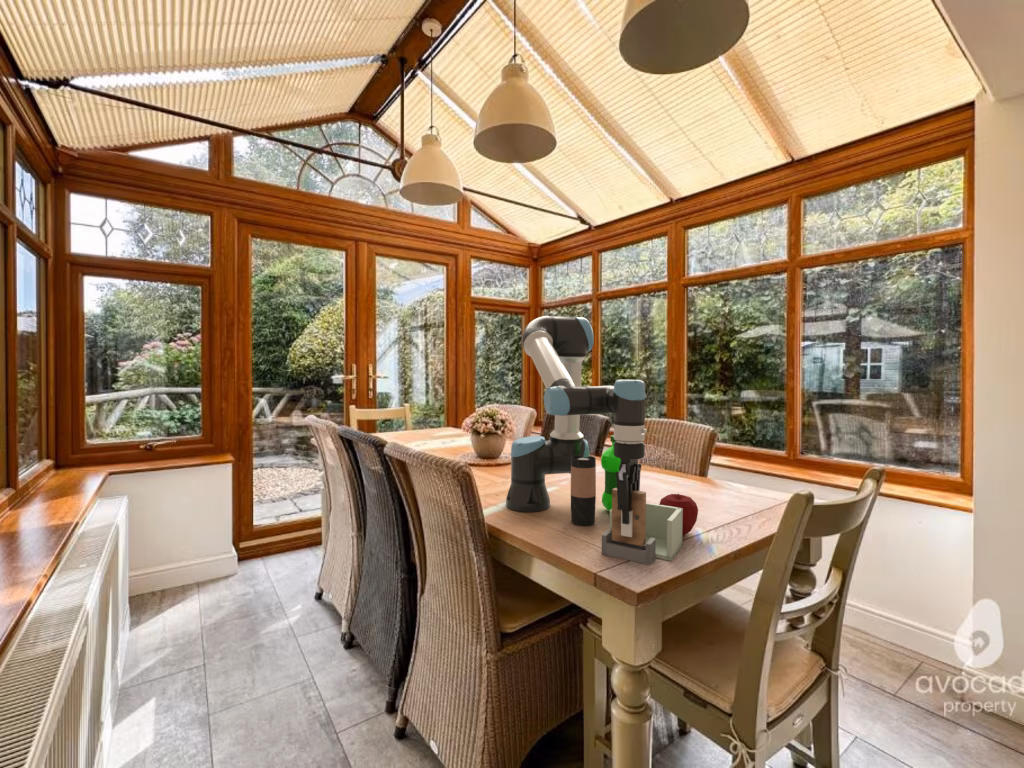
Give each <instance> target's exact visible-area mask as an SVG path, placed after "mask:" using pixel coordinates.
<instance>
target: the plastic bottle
mask: <svg viewBox="0 0 1024 768" xmlns="http://www.w3.org/2000/svg"><path fill="white" fill-rule="evenodd" d="M615 441H616V440H615V439H614V434H612V435H610V442H611V446H610V447H608V449H605V451H604V452H603V453H602V455H601V458H600V464H601V468H602V469H603V470H604V491H603V493H602V495H601V503H602V506H603V507H604V508H605V509H606V510H608V512H609V513H610V510H611V509H612V489H614V488H617V479H616V472H619V465H620V462H621V459H620V458H617V457H615V456H614V443H615Z"/></svg>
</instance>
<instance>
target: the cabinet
mask: <svg viewBox="0 0 1024 768" xmlns="http://www.w3.org/2000/svg"><path fill="white" fill-rule="evenodd" d="M682 532H683V508H678V507H671V506H665V505H659V504H657V503H652V502H646V544H645V545H644V546H639V545H634V544H629V543H624V542H619V541H614V540H612V509H611V510H610V512H609V529H607V530H606V531H605V532H604V533H602V534H601V555H603V556H608V557H613V558H616V559H617V558H618V559H621V560H622V559H623V560H626V561H630V562H631V561H632V562H636V563H640V564H645V565H649V566H651V565H652V564H653V562H654V561H655V559H660V560H665V561H671V562H672V561H673V560H674V558H675V556H676V555H677V553H678V552H679V551H680V550H681V548H682V546H683V536H682Z"/></svg>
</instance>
